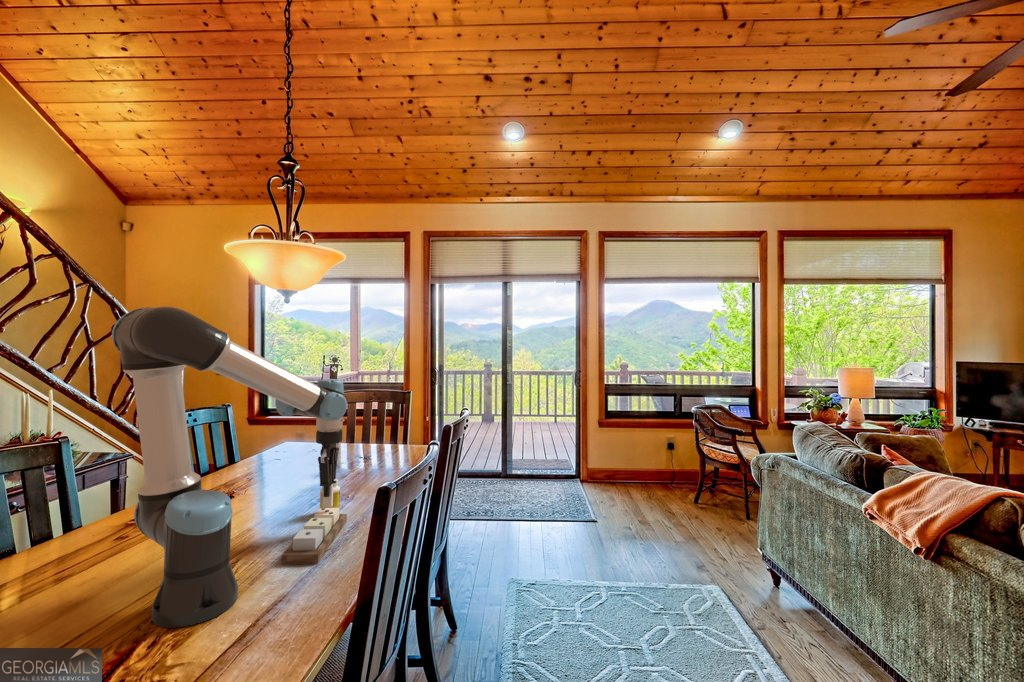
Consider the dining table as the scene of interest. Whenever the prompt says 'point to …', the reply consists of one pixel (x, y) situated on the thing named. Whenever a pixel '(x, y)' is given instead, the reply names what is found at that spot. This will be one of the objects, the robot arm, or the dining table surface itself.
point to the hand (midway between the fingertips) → (327, 505)
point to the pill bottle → (335, 496)
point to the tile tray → (317, 555)
